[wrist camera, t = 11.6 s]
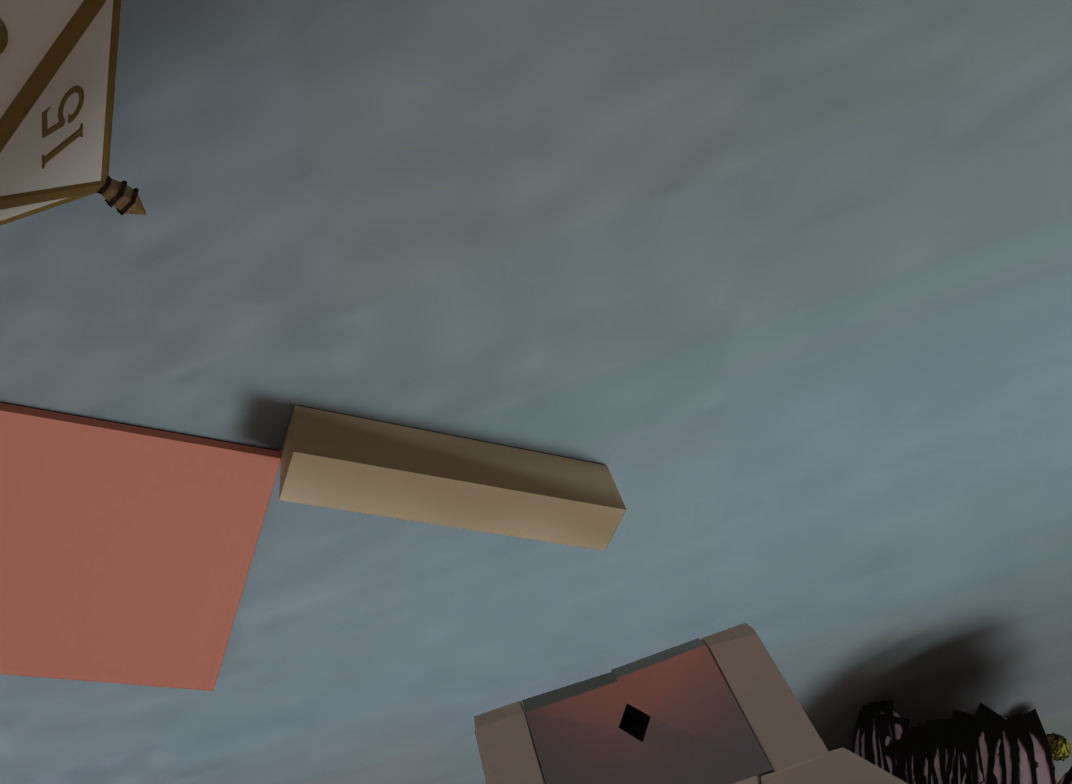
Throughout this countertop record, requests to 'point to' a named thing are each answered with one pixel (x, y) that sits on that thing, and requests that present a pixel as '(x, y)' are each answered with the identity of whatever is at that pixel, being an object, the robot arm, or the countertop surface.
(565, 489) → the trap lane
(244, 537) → the mats
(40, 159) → the game die
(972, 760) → the decorative flower
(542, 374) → the countertop surface
